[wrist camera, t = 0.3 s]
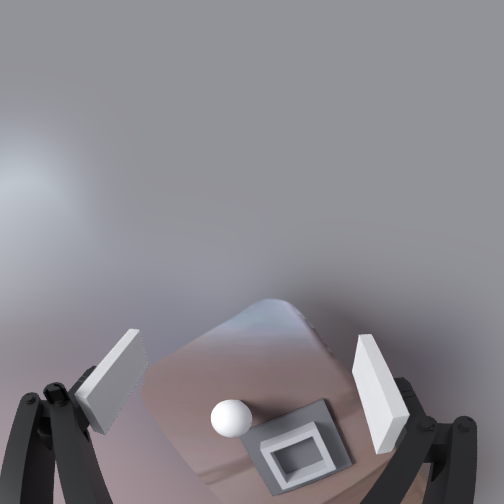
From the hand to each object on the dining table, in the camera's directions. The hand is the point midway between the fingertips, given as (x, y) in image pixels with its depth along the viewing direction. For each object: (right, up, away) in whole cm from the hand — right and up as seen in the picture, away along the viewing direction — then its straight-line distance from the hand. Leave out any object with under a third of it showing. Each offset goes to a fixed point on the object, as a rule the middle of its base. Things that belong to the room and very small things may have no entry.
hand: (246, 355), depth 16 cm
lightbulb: (-2, -21, +29) cm, 36 cm away
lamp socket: (+8, -30, +26) cm, 40 cm away
